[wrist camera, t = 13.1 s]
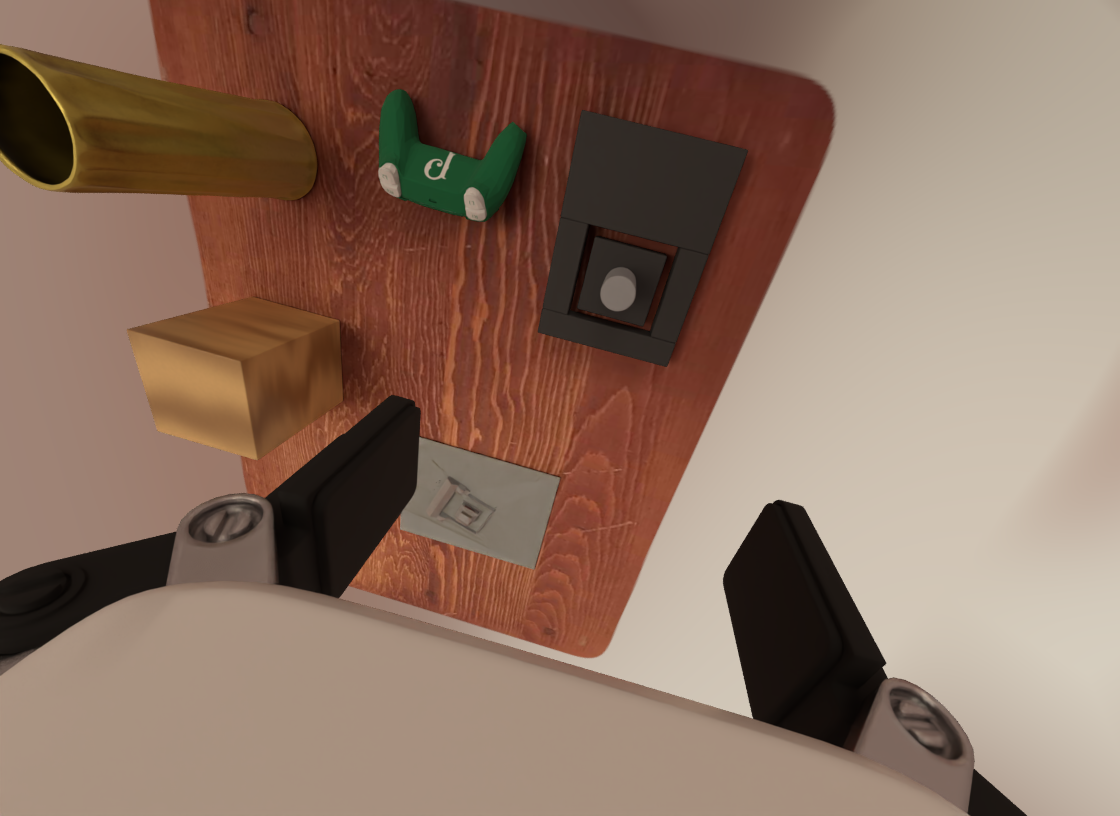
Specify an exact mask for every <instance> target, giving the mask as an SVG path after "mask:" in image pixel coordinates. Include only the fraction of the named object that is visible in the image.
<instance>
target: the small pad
mask: <svg viewBox="0 0 1120 816" xmlns="http://www.w3.org/2000/svg"><path fill="white" fill-rule="evenodd" d="M666 259H667V255H666V254H664V253H661V252H657V251H653V250H650V249H646V248H642V247H638V246H635V245H631V244H627V243H624V242H620V241H616V240H612V239H609V238H605V237H601V236H596V237H595V239H594V243H593V247H592V251H591V255H590V259H589V263H588V266H587V270H586V274H585V278H584V282H583V286H582V290H581V294H580V298H579V302H578V306H577V308H578V309H581V310H585V311H588V312H592V313H595V314H599V315H603V316H606V317H610V318H613V319H617V320H621V321H624V322H628V323H632V324H635V325H639V326H644V323H645V321H646V318H647V315H648V312H649V309H650V306H651V303H652V300H653V297H654V294H655V291H656V288H657V285H658V282H659V279H660V276H661V273H662V270H663V268H664V265H665V262H666Z"/></svg>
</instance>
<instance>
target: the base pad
mask: <svg viewBox="0 0 1120 816" xmlns="http://www.w3.org/2000/svg"><path fill="white" fill-rule="evenodd" d="M747 152H748V150H746V149H742V148H738V147H734V146H730V145H726V144H722V143H717V142H713V141H709V140H705V139H701V138H697V137H693V136H688V135H684V134H680V133H676V132H672V131H668V130H664V129H659V128H655V127H651V126H647V125H643V124H639V123H635V122H630V121H626V120H622V119H618V118H614V117H610V116H606V115H601V114H597V113H593V112H589V111H585V110H582V112H581V117H580V122H579V127H578V132H577V137H576V142H575V147H574V152H573V157H572V162H571V167H570V172H569V177H568V182H567V187H566V192H565V197H564V202H563V207H562V212H561V218H560V222H559V227H558V232H557V237H556V242H555V247H554V253H553V258H552V263H551V268H550V273H549V278H548V283H547V288H546V293H545V298H544V303H543V309H542V313H541V318H540V323H539V328H538V332H539V333H542V334H546V335H550V336H553V337H557V338H561V339H564V340H568V341H572V342H576V343H579V344H583V345H587V346H590V347H594V348H598V349H602V350H605V351H609V352H613V353H617V354H620V355H624V356H628V357H631V358H635V359H639V360H643V361H646V362H650V363H654V364H657V365H661V366H665V367H667V366H668V363H669V360H670V358H671V355H672V352H673V350H674V347H675V343H676V342H677V339H678V336H679V334H680V331H681V328H682V326H683V323H684V320H685V318H686V315H687V312H688V310H689V307H690V304H691V302H692V299H693V296H694V294H695V291H696V288H697V286H698V283H699V280H700V278H701V275H702V272H703V270H704V267H705V264H706V262H707V259H708V255H709V254H710V251H711V248H712V246H713V243H714V240H715V238H716V235H717V232H718V230H719V227H720V224H721V222H722V219H723V216H724V214H725V211H726V208H727V206H728V203H729V200H730V198H731V195H732V192H733V190H734V187H735V184H736V182H737V179H738V176H739V174H740V171H741V168H742V166H743V163H744V160H745V158H746V155H747ZM590 225H594V226H598V227H602V228H606V229H610V230H614V231H618V232H622V233H625V234H629V235H633V236H637V237H641V238H645V239H649V240H653V241H657V242H661V243H665V244H669V245H673V246H677V247H678V249H677V252H676V255H675V258H674V261H673V264H672V267H671V270H670V273H669V276H668V279H667V282H666V285H665V288H664V291H663V294H662V297H661V299H660V302H659V305H658V308H657V311H656V314H655V317H654V320H653V323H652V326H651V329H650V331H647V330H643V329H639V328H635V327H632V326H628V325H624V324H620V323H617V322H613V321H609V320H605V319H601V318H598V317H594V316H590V315H586V314H583V313H579V312H575V311H571V310H570V309H571V304H572V300H573V296H574V292H575V287H576V283H577V279H578V274H579V270H580V266H581V261H582V257H583V253H584V249H585V244H586V240H587V236H588V231H589V227H590Z"/></svg>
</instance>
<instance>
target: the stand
mask: <svg viewBox="0 0 1120 816" xmlns="http://www.w3.org/2000/svg"><path fill="white" fill-rule="evenodd" d="M127 333H128V336H129V340H130V343H131V346H132V349H133V353H134V356H135V359H136V362H137V366H138V369H139V372H140V375H141V378H142V382H143V385H144V388H145V392H146V395H147V398H148V401H149V405H150V408H151V411H152V414H153V418H154V421H155V424H156V427H157V431H159V432H163V433H166V434H169V435H173V436H176V437H180V438H183V439H186V440H190V441H193V442H197V443H200V444H204V445H207V446H210V447H214V448H217V449H220V450H224V451H228V452H231V453H234V454H238V455H241V456H244V457H248V458H251V459H255V460H259V459H260V458H262V457H263V456H265V455H266V454H268V453H269V452H270V451H272V450H273V449H275V448H276V447H278V446H279V445H280V444H282V443H283V442H285V441H286V440H288V439H289V438H291V437H292V436H293V435H295V434H296V433H298V432H299V431H301V430H302V429H304V428H305V427H306V426H308V425H309V424H311V423H312V422H314V421H315V420H317V419H318V418H319V417H321V416H322V415H324V414H325V413H327V412H328V411H329V410H331V409H332V408H334V407H335V406H337V405H338V404H340V403H341V402H342V401H343V385H342V363H341V340H340V321H339V320H336V319H333V318H329V317H325V316H322V315H318V314H314V313H311V312H307V311H303V310H300V309H296V308H292V307H289V306H285V305H281V304H278V303H274V302H271V301H267V300H263V299H260V298H256V297H249V298H245V299H242V300H238V301H234V302H230V303H226V304H222V305H219V306H215V307H211V308H207V309H204V310H199V311H196V312H192V313H188V314H184V315H181V316H176V317H173V318H169V319H165V320H161V321H157V322H154V323H150V324H146V325H142V326H138V327H135V328H130V329H127Z"/></svg>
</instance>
